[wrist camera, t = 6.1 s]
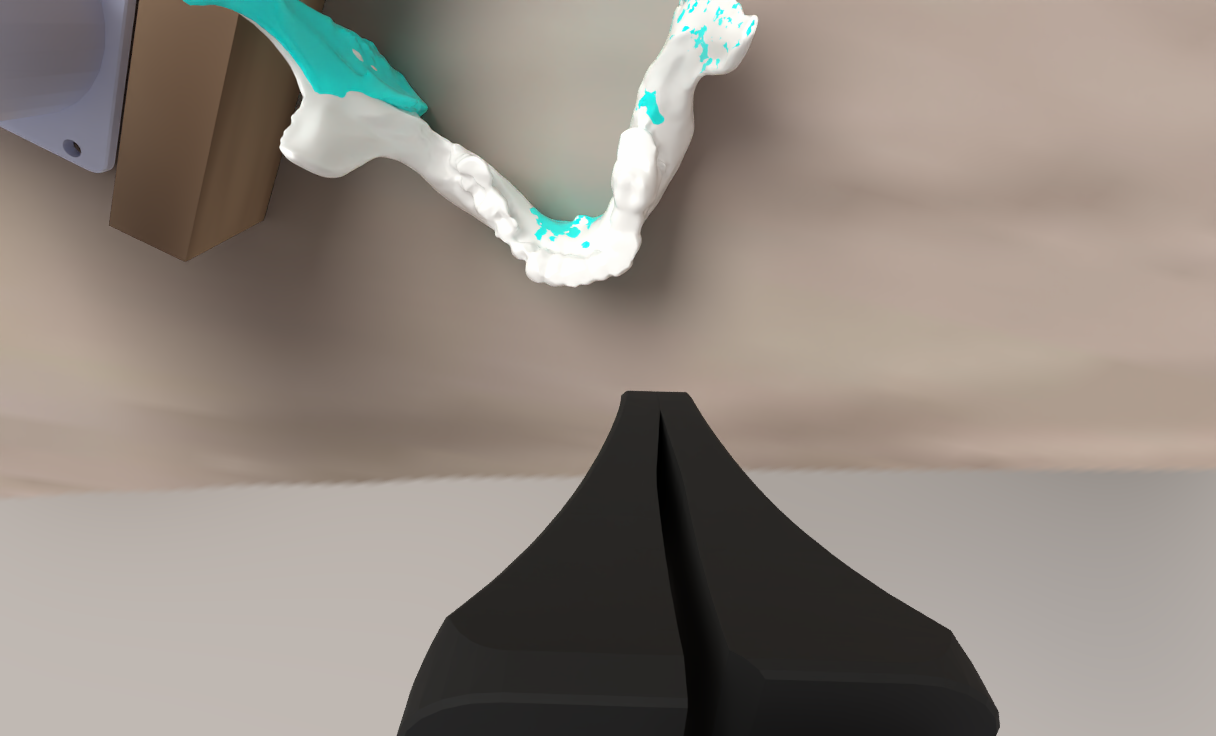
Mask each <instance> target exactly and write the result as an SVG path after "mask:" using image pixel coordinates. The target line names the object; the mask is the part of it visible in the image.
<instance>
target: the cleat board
mask: <svg viewBox="0 0 1216 736" xmlns="http://www.w3.org/2000/svg"><path fill="white" fill-rule="evenodd" d="M299 1H301V2H303V3H304V4H306V5H307V6H309V7H311V8H312V9H314V10H316V11H318V12H320V13H322V10H323V6H324V3H325V0H299ZM299 92H300V89H299V86H298V83H297V80H296V77H295V75H294V73H293V71H292V69H291V67H290V65H289V64H288V62H287V61H286V60H285V58H284V57H283V56H282V54H281V53H280V52H279V50H278V49H277V48H276V47H275V45H274V44H273V43H272V42H271V41H270V39H269V38H268V37H267V36H265V35H264V34H263V33H262V32H261V31H260V30H259V29H258V28H257V27H256V26H255V25H254V24H253V23H251V22H250V21H249V20H247V19H246V18H244V17H243V16H242V15H240V14H239V13H237V12H235V11H233V10H230V9H228V8H225V7H221V6H216V5H206V6H196V5H191V6H190V5H189V4H187V3H185V2H184V1H183V0H139V6H138V13H137V20H136V28H135V35H134V43H133V50H132V58H131V65H130V72H129V80H128V87H127V95H126V102H125V110H124V117H123V124H122V132H121V139H120V147H119V154H118V161H117V169H116V176H115V184H114V191H113V199H112V206H111V213H110V221H109V226H111V227H113V228H115V229H117V230H120V231H122V232H124V233H126V234H128V235H130V236H132V237H134V238H136V239H138V240H140V241H143V242H145V243H147V244H149V245H151V246H153V247H155V248H157V249H159V250H161V251H163V252H166V253H168V254H170V255H172V256H174V257H176V258H178V259H180V260H182V261H184V262H186V261H188V260H190V259H192V258H194V257H196V256H198V255H199V254H201V253H203V252H205V251H207V250H209V249H211V248H213V247H214V246H216V245H218V244H220V243H222V242H224V241H226V240H227V239H229V238H231V237H233V236H235V235H237V234H239V233H240V232H242V231H244V230H246V229H248V228H250V227H252V226H254V225H255V224H257V223H259V222H261V221H263V220H264V217H265V213H266V210H267V206H268V203H269V199H270V196H271V192H272V188H273V185H274V181H275V178H276V174H277V171H278V167H279V163H280V160H281V156H282V152H281V150H280V148H279V146H280V144H281V142H280V139H281V137H283V134H284V131H285V130H286V129H287V128H288V127H289V126H290V124H291V116H292V115H293V113H294V110H295V106H296V103H297V99H298V95H299Z"/></svg>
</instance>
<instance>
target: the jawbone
mask: <svg viewBox="0 0 1216 736" xmlns="http://www.w3.org/2000/svg"><path fill="white" fill-rule="evenodd" d="M183 1H184V2H185V3H187V4H189V5H190V6H191V5H196V6H206V5H216V6H221V7H225V8H228V9H230V10H233V11H235V12H237V13H239V14H240V15H242V16H243V17H244V18H246V19H247V20H249V21H250V22H251V23H253V24H254V25H255V26H256V27H257V28H258V29H259V30H260V31H261V32H262V33H263V34H264V35H265V36H267V37H268V38H269V39H270V41H271V42H272V43H273V44H274V45H275V47H276V48H277V49H278V50H279V52H280V53H281V54H282V56H283V57H284V58H285V60H286V61H287V62H288V64H289V65H290V67H291V69H292V71H293V73H294V75H295V77H296V80H297V83H298V86H299V89H300V91H301V93H302V95H303V100H302V102H301V106H300V108H299V109H298V110H297V111H296V112H295V113H294V114H293V115H292V116H291V125H290V126H289V127H288V128H287V129H286V130H285V131H284V134H283V137H281V139H280V142H281V144H280V146H279V148H280V150H281V152H282V153H283V154H284V156H285V157H286V158H287V159H288V160H289V161H291V162H292V163H294V164H296V165H298V166H300V167H301V168H303V169H305V170H307V171H309V172H312V173H314V174H316V175H319V176H322V177H326V178H338V177H342V176H344V175H346V174H348V173H350V172H351V171H353V170H354V169H356V168H358V167H360V166H362V165H363V164H365V163H366V162H368V161H370V160H372V159H374V158H378V157H386V158H390V159H393V160H397V161H399V162H401V163H403V164H405V165H406V166H408V167H410V168H411V169H413V170H414V171H416V172H417V173H418V174H419V175H421V176H422V177H423V178H424V179H425V180H426V181H427V182H428V183H429V184H430V185H431V186H432V187H433V189H434V190H436V191H437V192H438V193H439V194H440V195H442V196H443V197H444V198H446V199H447V200H448V201H450V202H451V203H453V204H454V205H456V206H457V207H459V208H460V209H462V210H463V211H465V212H467V213H469V214H470V215H472V216H473V217H475V218H476V219H478V220H479V221H481V222H482V223H484V224H485V225H487V226H488V227H490V228H491V229H493V230H494V231H495V235H496V237H497V238H501V240H503V241H504V242H505V243H507V244H509V245H510V247H511V253H512V255H513V256H514V257H515V258H517V259H519V260H524V261H525V262H526V268H525V272H526V275H527V277H528V278H529V279H530V280H531V281H533V282H536V283H546V284H548V285H550V286H553V287H560V286H569V287H574V288H576V287H577V286H579V285H589V284H591V283H593V282H595V281H603V280H606V279H608V278H609V277H610V276H615V277H618V276H620V275H622V274H623V273H625V272H626V271H627V270H629V269H630V268H631V266H632V265H633V259H634V256H635V254H636V253H637V252H638V251H639V248H640V246H641V243H642V238H641V234H640V233H641V228H642V225H643V223H644V222H645V220H646V219H647V217H648V216H649V215H650V213H651V212H652V211H653V209H654V208H655V207H656V206H657V204H658V203H659V201H660V199H661V197H662V195H663V194H664V192H665V190H666V188H667V186H668V185H669V183H670V181H671V180H672V178H673V177H674V175H675V173H676V172H677V170H678V168H679V166H680V164H681V162H682V159H683V157H684V155H685V153H686V151H687V149H688V147H689V145H690V142H691V140H692V137H693V133H694V113H693V99H694V91H695V88H696V86H697V83H698V82H699V80H700V79H701V78H702V77H703V76H705V75H724V74H727V73H730V72H732V71H733V70H735V69H736V68H737V67H738V66H739V64H740V63H741V61H742V60H743V58H744V57H745V55H746V53H747V51H748V49H749V47H750V45H751V42H752V40H753V37H754V34H755V32H756V29H757V24H758V17H757V16H756V15H752V16H749V15H745V14H744V12H743V8H742V6H741V5H740V4H739V3H738V2H737V0H680V2H679V5H680V6H678V7H677V8H676V10H675V12H674V16H673V20H672V25H671V29H670V33H669V35H668V38H667V40H666V43H665V44H664V46H663V48H662V50H661V52H660V53H659V55H658V57H657V58H656V59H655V61H654V62H653V63H652V64H651V65H650V67H649V68H648V70H647V72H646V74H645V76H644V79H643V81H642V83H641V85H640V88H639V90H638V94H637V101H636V105H635V108H634V112H633V116H632V120H631V124H630V128H629V129H628V130H626V131H624V132H623V133H622V135H621V137H620V142H619V146H618V153H617V157H618V159H617V161H616V163H615V165H614V169H613V172H612V178H611V186H612V190H613V197H612V199H611V201H610V203H609V205H608V208H607V210H606V212H605V213H604V214H603V215H600V216H597V217H589V216H587V215H578V216H576V218H575V219H574V221H567V220H565V221H559V220H554V219H551V218H548V217H547V216H545V215H543V214H541V213H540V212H539V211H538V210H537V209H536V208H535V207H534V206H533V205H532V204H531V203H530V202H529V201H528V200H527V199H526V198H525V197H524V196H523V195H522V194H521V193H520V192H519V191H518V190H517V189H516V188H515V187H514V186H513V185H512V184H511V183H510V182H509V181H508V180H507V179H506V178H504V177H503V176H502V175H501V174H500V173H498V172H497V171H496V170H495V169H494V168H493V167H492V166H491V165H489V164H488V163H487V162H486V161H485V160H483V159H482V158H481V157H479V156H478V155H476V154H474V153H472V152H470V151H469V150H467V149H465V148H464V147H462V146H461V145H460V144H457V143H455V144H453V143H451V142H450V141H449V140H448V139H446V138H443V137H442V136H440V135H439V134H438V133H436V132H434V131H433V130H432V129H431V128H430V127H429V125H428V123H426V122H425V121H424V120H422V119H421V118H420V116H422V115H423V114H424V113H426V111H427V110H428V107H427V104H425V103H424V102H423V101H422V99H421V98H420V97H419V96H418V95H417V94H416V92H415V91H414V90H413V89H412V87H411V86H410V85H409V83H408V82H407V80H406V79H405V77H404V76H403V75H402V74H401V73H400V72H398V71H397V70H395V69H394V68H392V67H391V66H390V64H389V63H388V62H387V60H386V59H385V57H384V56H383V55H381V54H380V53H379V51H378V50H377V48H376V46H375V45H374V43H373V42H372V41H368V40H367V39H365V38H361V37H360V36H359V35H358V34H357V33H355V32H354V31H352V30H349V29H347V28H345V27H343V26H341V25H339V24H336V23H334V22H333V20H332V19H331V18H330V17H329V16H326V15H324V14H322V13H320V12H318V11H316V10H314V9H312V8H311V7H309V6H307V5H306V4H304V3H303V2H301V1H299V0H183Z"/></svg>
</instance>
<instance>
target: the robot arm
mask: <svg viewBox="0 0 1216 736" xmlns="http://www.w3.org/2000/svg"><path fill="white" fill-rule="evenodd" d="M135 7H136V0H0V127H1V128H4V129H6V130H8V131H10V132H12V133H14V134H16V135H18V136H20V137H22V138H24V139H26V140H28V141H30V142H32V143H34V144H36V145H38V146H40V147H42V148H44V149H46V150H48V151H50V152H52V153H54V154H56V155H58V156H60V157H62V158H64V159H66V160H68V161H70V162H72V163H74V164H76V165H78V166H80V167H82V168H84V169H86V170H88V171H91V172H94V173H102V172H106V171H109V170H111V169H112V168H113V166H114V164H115V158H116V151H117V143H118V136H119V128H120V120H121V113H122V105H123V98H124V90H125V83H126V75H127V68H128V60H129V53H130V45H131V37H132V30H133V22H134V15H135ZM73 141H74V142H75V143H77V144H78V146H79V147H80V149H81V153H80V152H79V151H77V149H76V148H75V147H74V143H73ZM999 728H1000V723H999V712H998V710H997V708H996V706H995V705H994V702H993V700H992V699H991V697H990V695H989V693H988V691H987V690H986V687H985V686H984V684H983V682H982V680H981V678H980V676H979V674H978V673H977V671H976V669H975V668H974V666H973V664H972V662H971V661H970V659H969V658H968V656H967V655H966V653H965V652H964V650H963V649H962V647H961V646H960V644H959V643H958V641H957V640H956V638H955V636H954V635H953V633H952V632H951V630H949V629H947V628H946V627H944V626H942V625H941V624H939V623H937V622H936V621H934V620H932V619H930V618H929V617H927V616H925V615H924V614H922V613H920V612H919V611H917V610H915V609H914V608H912V607H910V606H909V605H907V604H905V603H903V602H902V601H900V600H898V599H896V598H895V597H893V596H892V595H890V594H888V593H887V592H885V591H884V590H882V589H880V588H879V587H878V586H876V585H875V584H873V583H872V582H870V581H869V580H867V579H866V578H864V577H863V576H861V575H860V574H859V573H857V572H856V571H854V570H853V569H851V568H850V567H849V566H847V565H846V564H845V563H843V562H842V561H840V560H839V559H838V558H836V557H835V556H834V555H832V554H831V553H830V552H829V551H827V550H826V549H825V548H824V547H822V546H821V545H820V544H819V543H817V542H816V541H815V540H813V539H812V538H811V537H810V536H809V535H807V534H806V533H805V532H804V531H802V530H801V529H800V528H799V527H798V526H797V525H795V524H794V523H793V522H792V521H791V520H790V519H789V518H788V517H786V515H784V514H783V513H782V512H781V511H780V510H779V509H778V508H777V507H776V506H775V505H774V504H773V503H772V502H771V501H770V500H769V499H768V498H767V497H766V496H765V495H764V494H763V493H762V491H761V490H759V488H758V487H757V486H756V485H755V484H754V483H753V482H752V480H751V479H750V478H749V477H748V476H747V475H746V474H745V472H744V471H743V470H742V469H741V468H740V466H739V465H738V464H737V463H736V462H735V460H734V459H733V458H732V457H731V455H730V454H729V453H728V451H727V450H726V449H725V447H724V446H723V445H722V443H721V442H720V441H719V439H718V438H717V437H716V435H715V434H714V432H713V431H712V430H711V428H710V427H709V425H708V424H707V422H706V421H705V419H704V418H703V416H702V415H701V413H700V411H699V410H698V408H697V406H696V405H695V403H694V401H693V400H692V398H691V397H690V396H689V394H688V393H687V392H651V391H626V392H625V393H624V394H623V395H621V402H620V406H619V410H618V413H617V416H616V418H615V421H614V423H613V426H612V428H611V430H610V432H609V435H608V437H607V439H606V441H605V443H604V445H603V447H602V449H601V451H600V452H599V454H598V456H597V458H596V459H595V461H594V463H593V464H592V466H591V468H590V469H589V471H588V473H587V474H586V476H585V478H584V479H583V481H582V482H581V484H580V485H579V486H578V488H577V489H576V491H575V492H574V494H573V495H572V497H571V498H570V499H569V500H568V502H567V503H566V504H565V506H564V507H563V508H562V510H561V511H560V512H559V513H558V514H557V516H556V517H555V518H554V519H553V520H552V521H551V523H550V524H549V525H548V526H547V527H546V528H545V530H544V531H543V532H542V533H541V534H540V535H539V537H537V538H536V540H535V541H534V542H533V543H532V544H531V545H530V546H529V547H528V548H527V549H526V550H525V551H524V552H523V553H522V554H520V555H519V556H518V557H517V558H516V559H515V560H514V561H513V562H512V563H511V564H510V565H509V566H508V567H507V568H506V569H505V570H504V571H503V572H502V573H501V574H500V575H498V576H497V577H496V578H495V579H494V580H493V581H492V582H490V583H489V584H488V585H487V586H485V587H484V588H483V589H482V590H480V591H479V592H478V593H477V594H476V595H474V596H473V597H472V598H470V599H469V600H468V601H467V602H466V603H464V604H463V605H462V606H460V607H459V608H458V609H457V610H455V611H454V612H453V613H451V614H450V615H449V616H448V617H446V619H445V620H444V622H443V624H442V626H441V627H440V629H439V631H438V633H437V635H436V637H435V638H434V640H433V642H432V644H431V646H430V648H429V650H428V652H427V654H426V656H425V658H424V660H423V663H422V665H421V667H420V670H419V672H418V674H417V676H416V678H415V681H414V683H413V686H412V689H411V692H410V695H409V698H408V701H407V705H406V708H405V711H404V714H403V717H402V721H401V724H400V727H399V730H398V734H397V736H996V734H997V732H998V730H999Z"/></svg>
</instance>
